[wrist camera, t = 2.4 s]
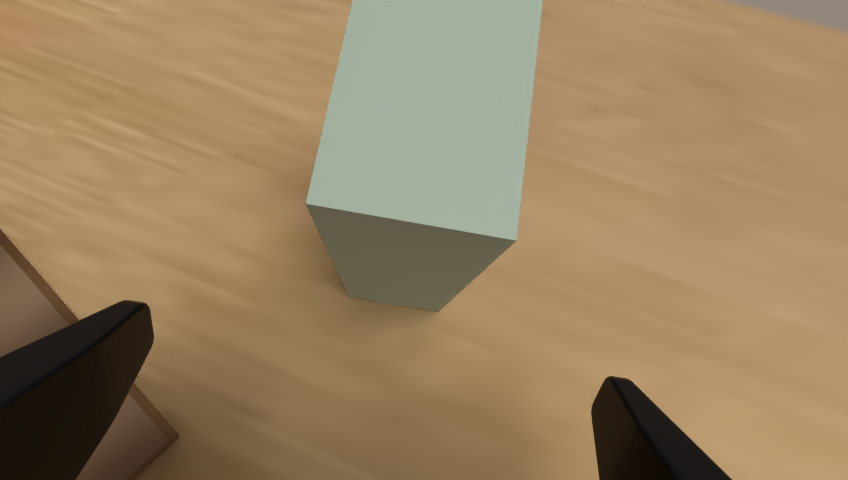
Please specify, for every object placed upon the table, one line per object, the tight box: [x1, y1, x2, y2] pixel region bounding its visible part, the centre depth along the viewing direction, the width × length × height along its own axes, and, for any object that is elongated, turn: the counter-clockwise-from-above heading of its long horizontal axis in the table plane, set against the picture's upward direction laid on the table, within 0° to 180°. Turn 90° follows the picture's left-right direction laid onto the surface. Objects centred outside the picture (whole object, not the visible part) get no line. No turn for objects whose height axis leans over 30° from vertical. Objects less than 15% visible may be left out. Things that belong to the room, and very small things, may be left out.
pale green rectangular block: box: [306, 0, 543, 312], centre depth 16 cm, size 6×4×13 cm, turn 171°
